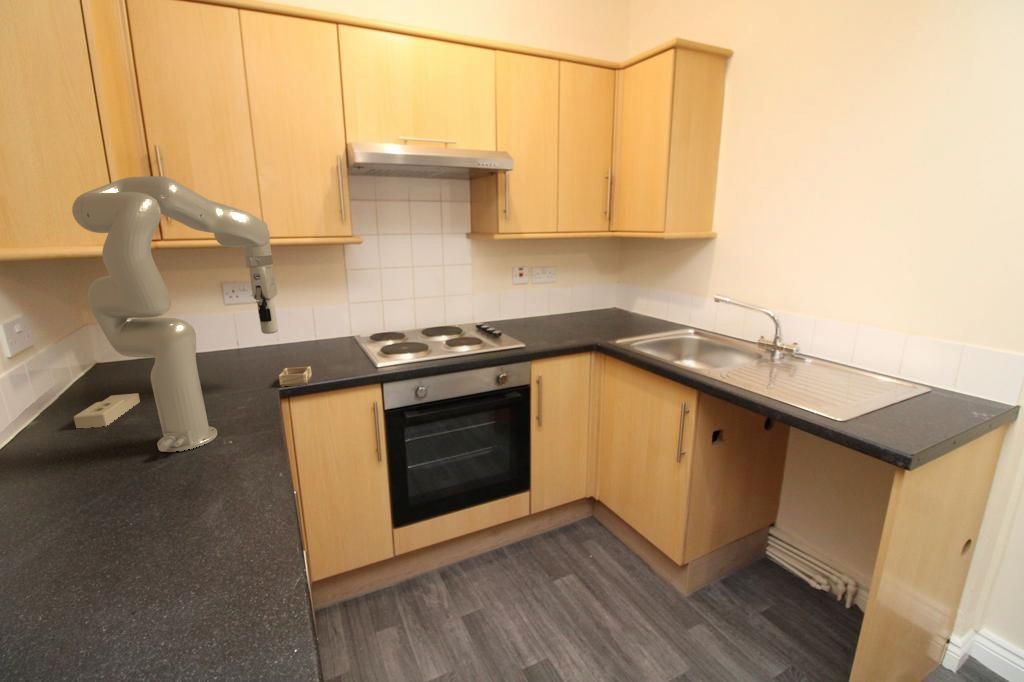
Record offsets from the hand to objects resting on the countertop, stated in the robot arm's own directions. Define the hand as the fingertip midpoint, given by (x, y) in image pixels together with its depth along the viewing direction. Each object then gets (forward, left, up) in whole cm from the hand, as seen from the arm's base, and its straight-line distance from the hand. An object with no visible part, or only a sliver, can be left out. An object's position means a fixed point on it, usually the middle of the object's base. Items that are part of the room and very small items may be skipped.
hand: (268, 318), depth 153 cm
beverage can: (0, 0, -5) cm, 5 cm away
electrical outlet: (-14, +42, -23) cm, 50 cm away
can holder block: (+2, -5, -23) cm, 23 cm away
